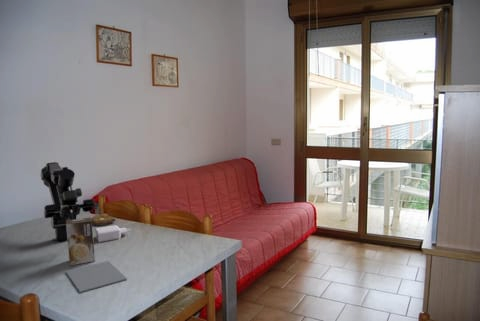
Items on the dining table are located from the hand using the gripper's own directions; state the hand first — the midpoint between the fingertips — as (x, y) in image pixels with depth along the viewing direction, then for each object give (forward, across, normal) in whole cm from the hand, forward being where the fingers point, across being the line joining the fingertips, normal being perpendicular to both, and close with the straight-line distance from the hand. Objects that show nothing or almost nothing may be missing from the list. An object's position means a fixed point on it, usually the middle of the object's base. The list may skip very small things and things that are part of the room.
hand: (74, 225), depth 150 cm
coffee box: (+15, 0, +3) cm, 15 cm away
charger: (0, +19, +18) cm, 26 cm away
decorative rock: (-20, +22, +38) cm, 48 cm away
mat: (+27, 0, -10) cm, 29 cm away
